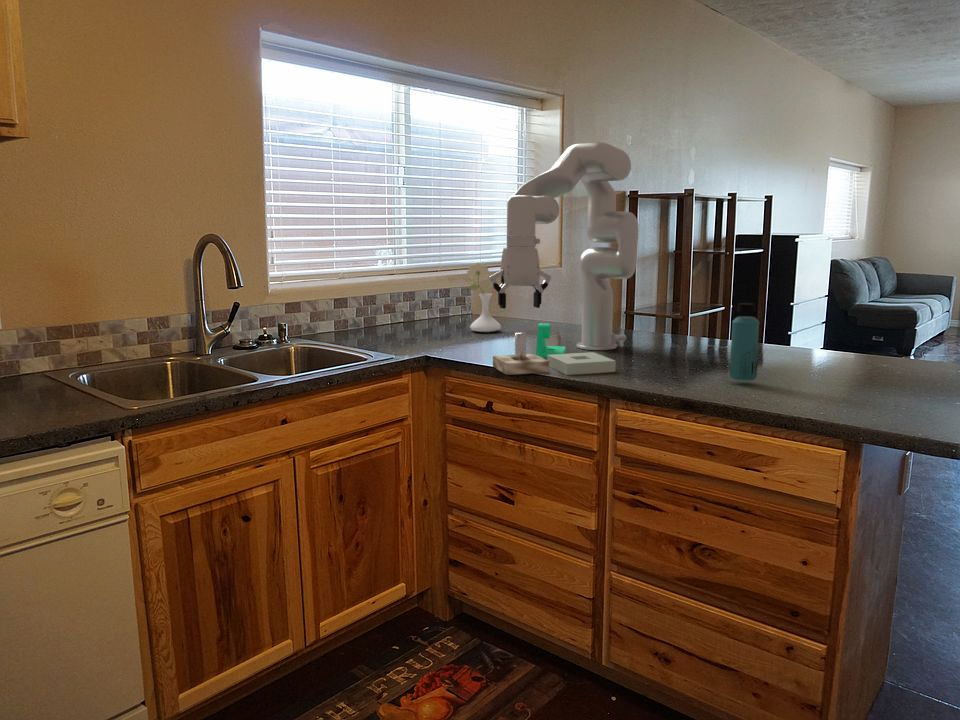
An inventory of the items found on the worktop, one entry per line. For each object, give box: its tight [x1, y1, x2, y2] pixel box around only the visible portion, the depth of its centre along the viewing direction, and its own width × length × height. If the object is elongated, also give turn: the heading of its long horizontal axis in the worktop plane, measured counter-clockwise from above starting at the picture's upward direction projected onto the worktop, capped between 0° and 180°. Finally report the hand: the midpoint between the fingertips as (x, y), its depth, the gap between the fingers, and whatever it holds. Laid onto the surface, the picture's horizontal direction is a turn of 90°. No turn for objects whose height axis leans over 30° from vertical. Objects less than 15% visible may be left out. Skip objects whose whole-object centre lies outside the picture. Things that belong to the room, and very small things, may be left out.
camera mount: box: [535, 322, 567, 360], centre depth 220 cm, size 12×8×10 cm, turn 168°
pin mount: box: [492, 353, 550, 376], centre depth 203 cm, size 12×12×3 cm
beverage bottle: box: [728, 302, 760, 381], centre depth 183 cm, size 6×7×20 cm
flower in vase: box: [466, 262, 502, 333], centre depth 271 cm, size 13×11×25 cm
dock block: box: [546, 351, 617, 376], centre depth 204 cm, size 14×14×3 cm
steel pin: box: [514, 331, 527, 360], centre depth 203 cm, size 3×3×10 cm
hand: (519, 307), depth 200 cm, fingers open, 9 cm apart
